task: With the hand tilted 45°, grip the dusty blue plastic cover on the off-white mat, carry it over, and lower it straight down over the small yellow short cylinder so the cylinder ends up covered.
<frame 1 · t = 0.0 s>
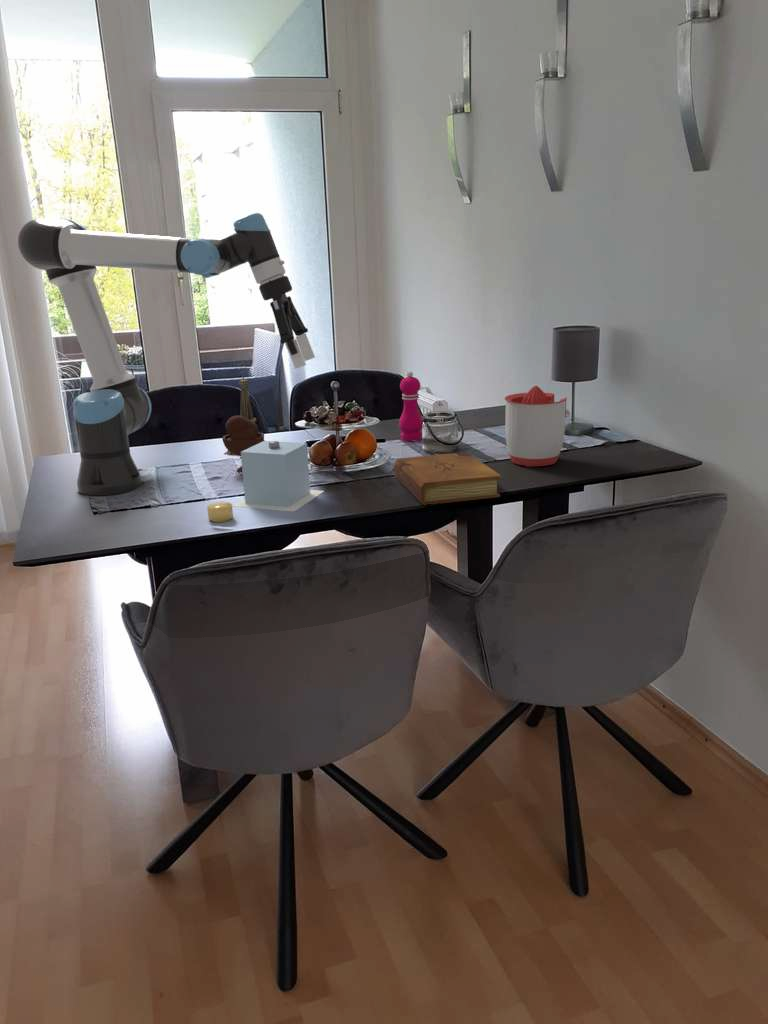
hand: (305, 363, 202), 28 cm above the table, tool tilted 20°, fingers open, 13 cm apart
yellow short cylinder: (221, 521, 174), on the table
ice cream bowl: (246, 472, 212), on the table
diary: (445, 490, 192), on the table
citrus juicer: (536, 462, 212), on the table
mat: (278, 500, 187), on the table
cover: (278, 498, 186), resting on mat
eiffel tower: (250, 454, 231), on the table
pepper mill: (411, 439, 241), on the table
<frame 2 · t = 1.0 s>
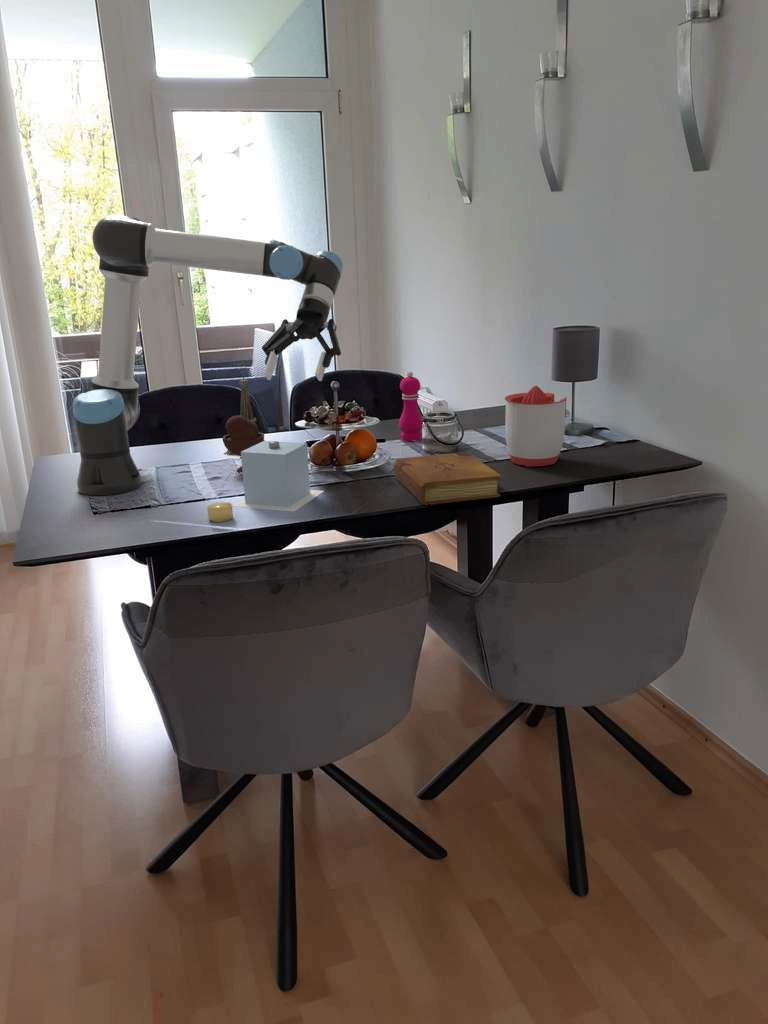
hand: (292, 377, 192), 26 cm above the table, tool tilted 45°, fingers open, 13 cm apart
nothing on the table moved.
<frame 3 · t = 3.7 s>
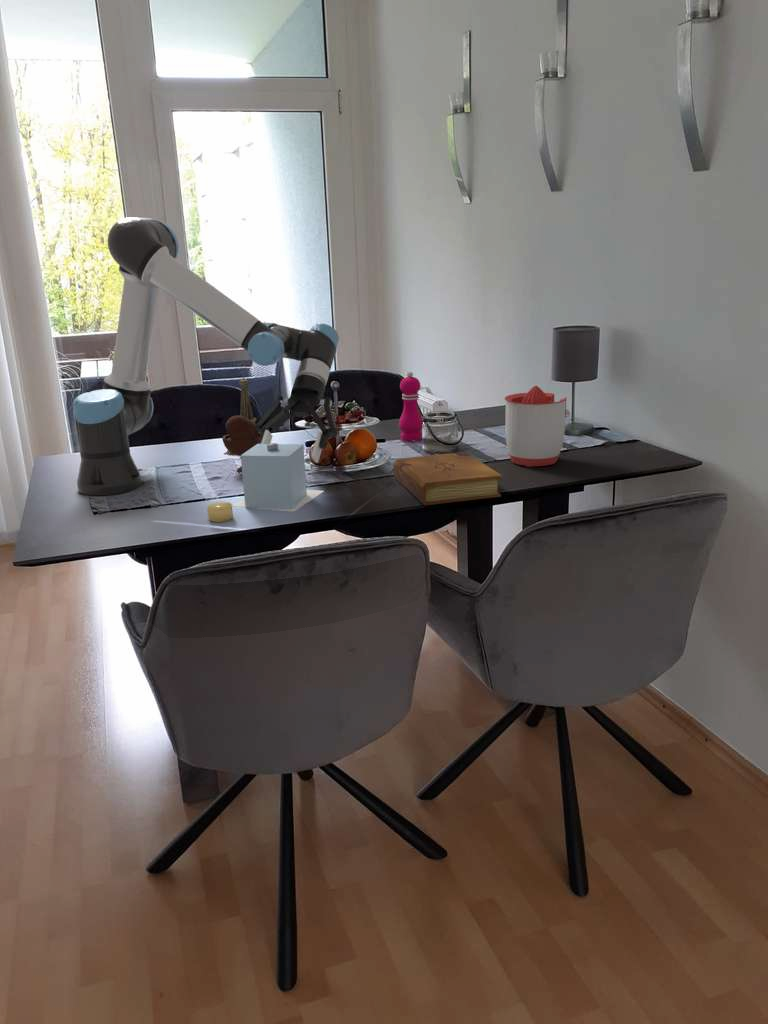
hand: (287, 458, 187), 9 cm above the table, tool tilted 45°, fingers open, 13 cm apart
cover: (276, 501, 184), point 1 cm above the table, touching mat
everything else where it was.
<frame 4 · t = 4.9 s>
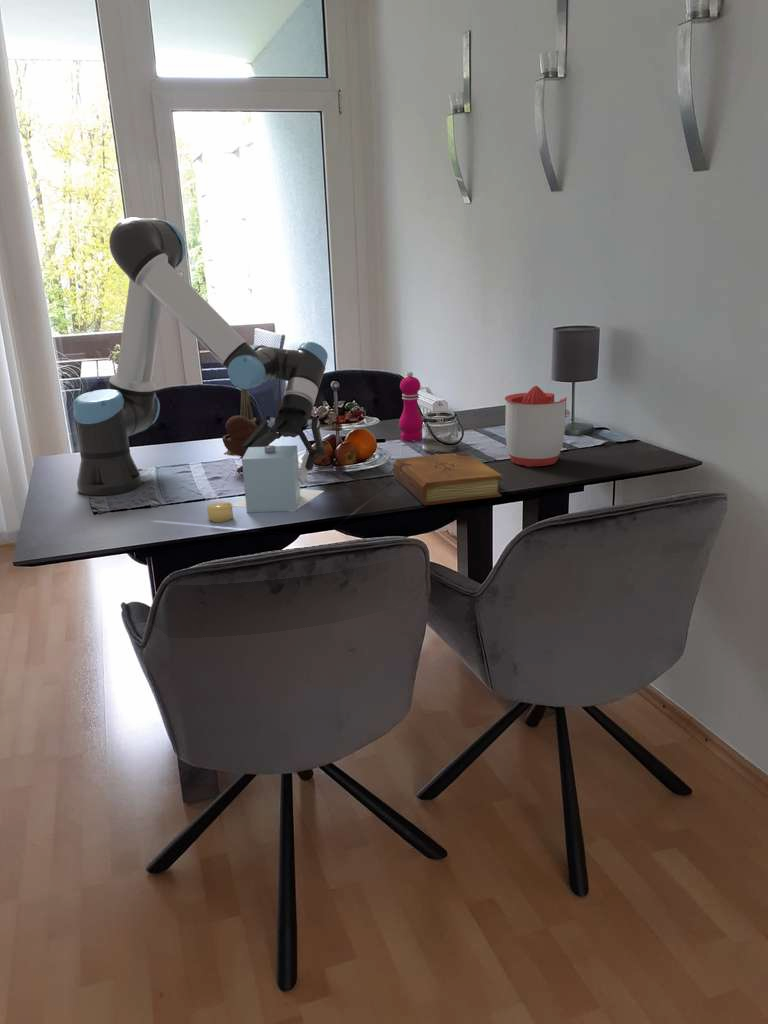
hand: (273, 479, 183), 5 cm above the table, tool tilted 45°, fingers open, 13 cm apart
cover: (274, 503, 182), point 1 cm above the table, touching gripper, mat
everything else where it was.
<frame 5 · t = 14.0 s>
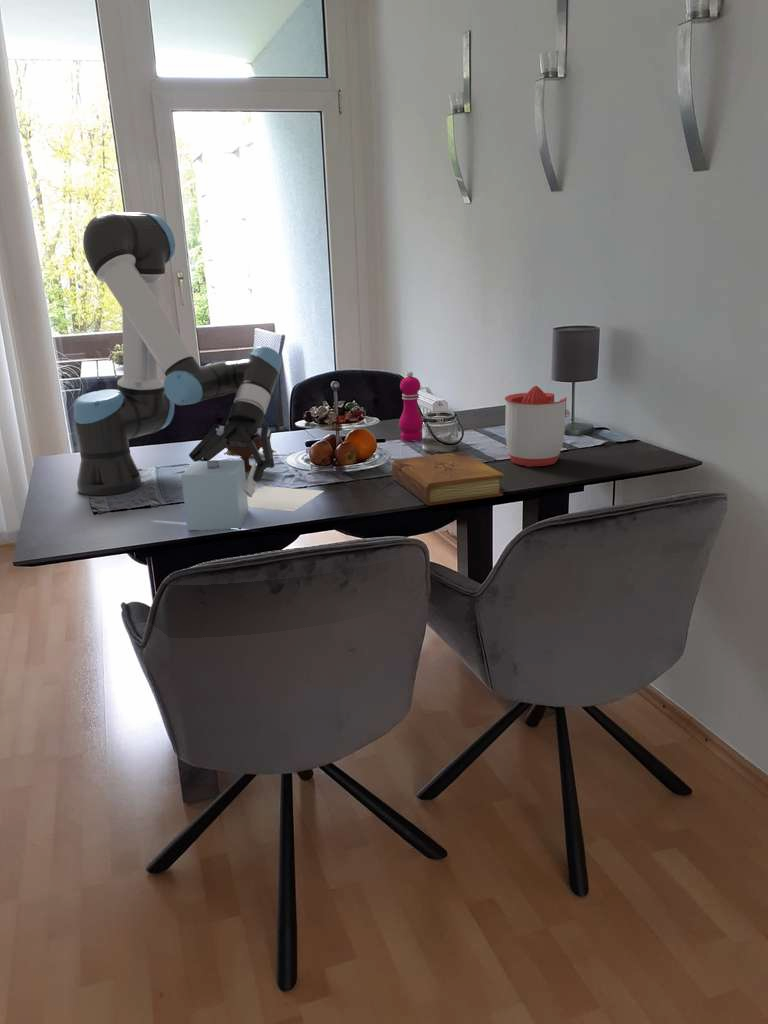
hand: (220, 491, 174), 6 cm above the table, tool tilted 45°, fingers open, 13 cm apart
cover: (219, 521, 173), on the table, touching gripper
everything else where it was.
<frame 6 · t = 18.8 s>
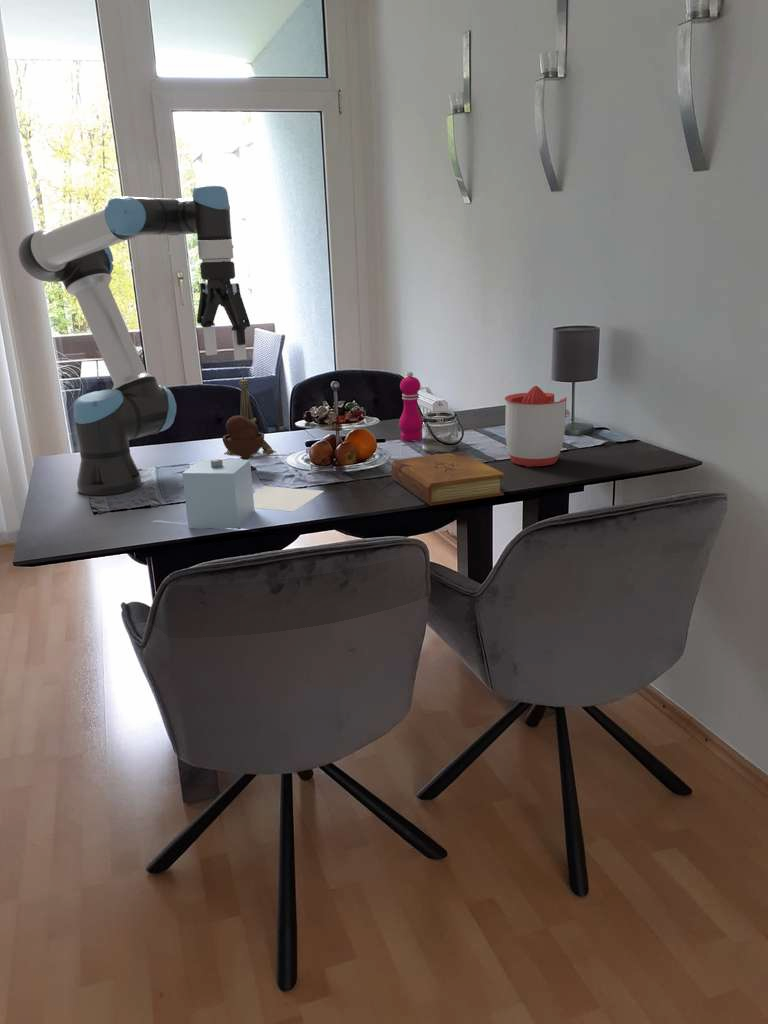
hand: (225, 357, 187), 32 cm above the table, tool pointing down, fingers open, 13 cm apart
cover: (222, 520, 174), on the table
everything else where it was.
at the end: cover 0.7 cm from the yellow short cylinder (horizontally); cover on the table; cover tilted 0° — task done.
